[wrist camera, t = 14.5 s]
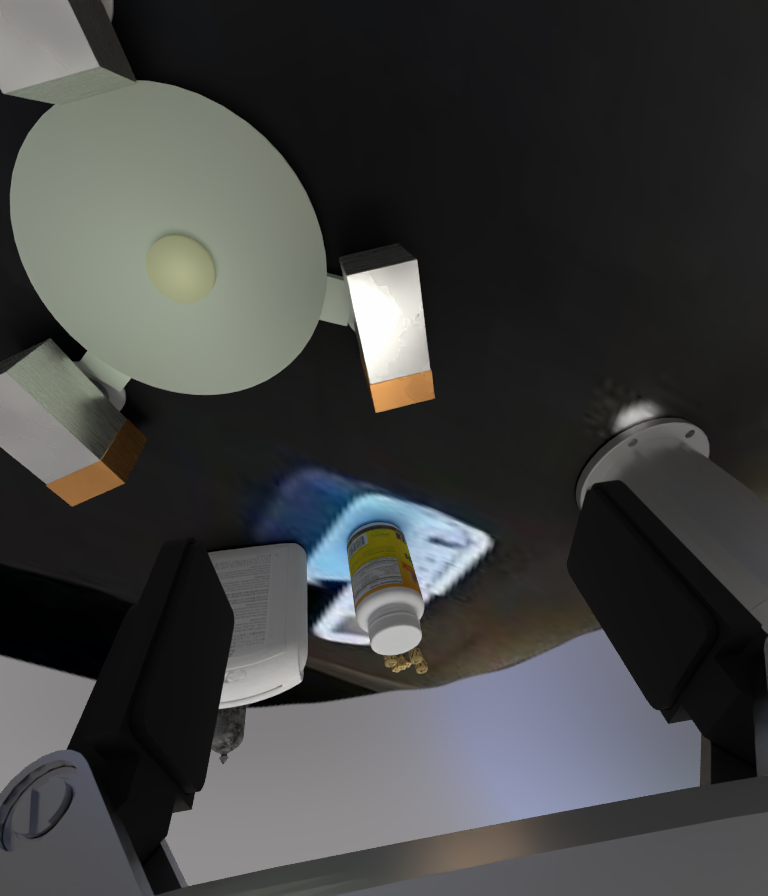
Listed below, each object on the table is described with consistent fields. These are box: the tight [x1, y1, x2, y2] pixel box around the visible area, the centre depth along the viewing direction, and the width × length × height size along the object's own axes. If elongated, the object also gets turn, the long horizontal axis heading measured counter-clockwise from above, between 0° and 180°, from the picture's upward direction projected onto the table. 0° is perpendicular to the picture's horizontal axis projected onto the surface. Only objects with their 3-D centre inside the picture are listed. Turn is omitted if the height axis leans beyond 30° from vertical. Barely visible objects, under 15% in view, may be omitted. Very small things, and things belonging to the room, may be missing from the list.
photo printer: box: [208, 543, 308, 709], centre depth 33 cm, size 10×4×12 cm, turn 90°
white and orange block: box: [339, 243, 435, 413], centre depth 24 cm, size 8×4×6 cm, turn 10°
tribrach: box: [10, 0, 355, 412], centre depth 22 cm, size 23×22×3 cm
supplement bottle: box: [347, 522, 424, 655], centre depth 35 cm, size 6×6×10 cm
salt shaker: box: [211, 703, 251, 764], centre depth 39 cm, size 6×6×12 cm
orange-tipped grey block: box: [0, 338, 147, 506], centre depth 24 cm, size 8×4×6 cm, turn 21°
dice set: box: [383, 648, 428, 674], centre depth 53 cm, size 5×5×2 cm
